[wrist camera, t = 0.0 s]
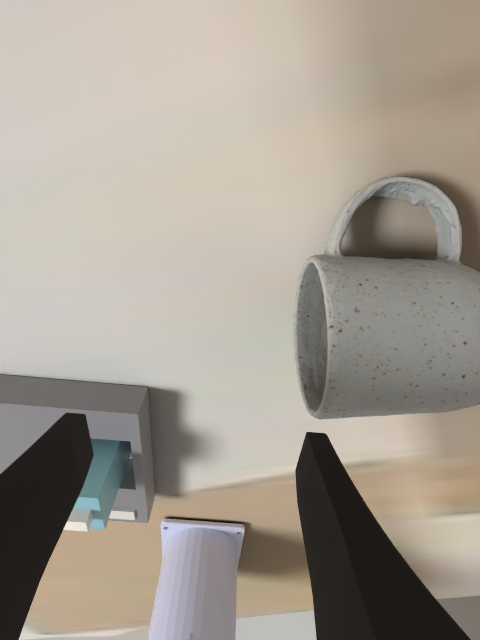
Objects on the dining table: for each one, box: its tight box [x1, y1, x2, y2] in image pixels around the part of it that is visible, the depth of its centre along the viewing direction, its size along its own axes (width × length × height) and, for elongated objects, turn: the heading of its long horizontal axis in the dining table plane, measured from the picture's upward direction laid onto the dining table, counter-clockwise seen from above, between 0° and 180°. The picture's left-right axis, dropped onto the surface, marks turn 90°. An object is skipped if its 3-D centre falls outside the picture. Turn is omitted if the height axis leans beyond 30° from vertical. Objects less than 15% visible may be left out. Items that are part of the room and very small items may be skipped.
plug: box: [63, 438, 131, 531], centre depth 24 cm, size 4×4×7 cm
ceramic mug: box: [294, 176, 480, 419], centre depth 16 cm, size 11×8×8 cm
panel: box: [0, 375, 155, 523], centre depth 26 cm, size 13×17×3 cm
